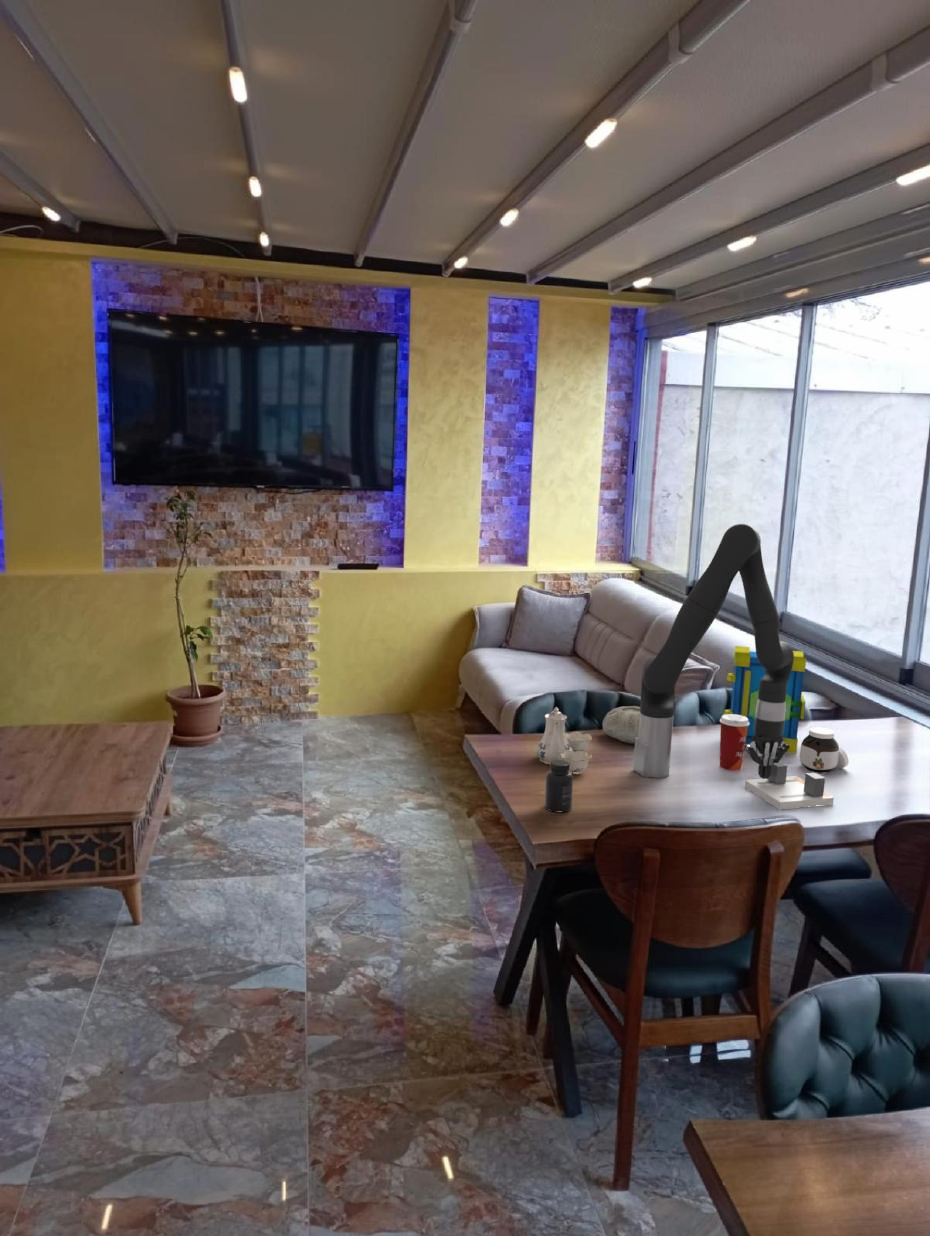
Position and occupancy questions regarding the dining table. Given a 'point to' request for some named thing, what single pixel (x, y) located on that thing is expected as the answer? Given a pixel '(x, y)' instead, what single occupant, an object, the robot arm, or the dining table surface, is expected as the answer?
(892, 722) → the dining table surface
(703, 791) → the dining table surface
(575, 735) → the chinaware
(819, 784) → the breaker
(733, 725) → the coffee cup
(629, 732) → the decorative shell
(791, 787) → the panel
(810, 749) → the spread jar
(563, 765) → the supplement bottle
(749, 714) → the blue yellow rectangular box
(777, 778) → the block
